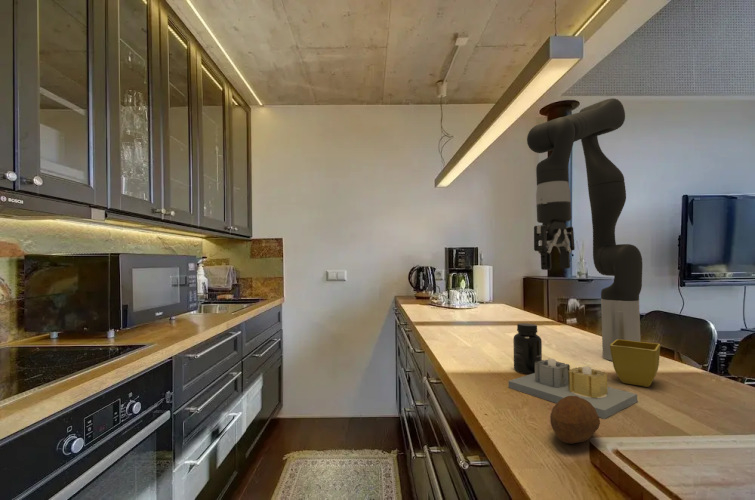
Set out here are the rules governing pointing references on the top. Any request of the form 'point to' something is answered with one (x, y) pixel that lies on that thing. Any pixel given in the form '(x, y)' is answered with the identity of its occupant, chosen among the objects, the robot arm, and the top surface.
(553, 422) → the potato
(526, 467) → the top surface
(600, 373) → the brass gear
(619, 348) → the flower pot
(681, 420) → the top surface
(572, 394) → the pegboard
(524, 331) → the supplement bottle
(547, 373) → the steel gear
